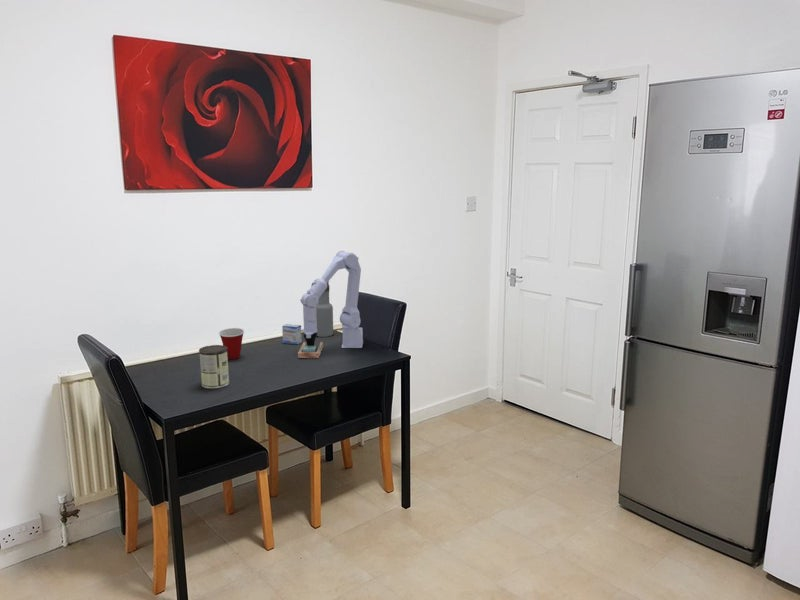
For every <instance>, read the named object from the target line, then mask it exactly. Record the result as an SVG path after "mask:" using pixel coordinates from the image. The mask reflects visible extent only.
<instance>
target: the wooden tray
mask: <svg viewBox="0 0 800 600" xmlns="http://www.w3.org/2000/svg"><path fill="white" fill-rule="evenodd" d="M304 346H307V342H306V341H302V344H301V346H300V348H299V350H298V352H297V359H298V358H308V360H309V358H311V359H312V358H313V359H314V358H320V357H321V354H322V352H321V351H323V348H324V341H320V343H319V344H318V347H317V348H316V352H303V348H304ZM319 356H320V357H319ZM313 359H312V360H313ZM314 360H315V359H314Z"/></svg>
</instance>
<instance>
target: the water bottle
mask: <svg viewBox="0 0 800 600" xmlns="http://www.w3.org/2000/svg"><path fill="white" fill-rule="evenodd" d="M317 279H318V278H316V279H315V280H313V282H314V281H316V280H317ZM313 282H312V283H311V286H312V285H313V284H314V283H313ZM329 283H330V280H329V281H328V282H327V288H326V289H325V291H324V292H323V293H322V295H321V296H320V297H319V302H318V304H317V305H316V318H317V332H316V333H317V336H318V337H319V338H327V337H331V336H333V334H334V307H333V304H332V303H330V285H329ZM311 286H310V287H311ZM317 336H316V337H317Z"/></svg>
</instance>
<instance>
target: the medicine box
mask: <svg viewBox="0 0 800 600" xmlns="http://www.w3.org/2000/svg"><path fill="white" fill-rule="evenodd" d="M281 327H282V330H281V331H282V344H283V343H288V344H287V345H296V344H298V345H299V343H300V344H301V343H303V341H302V332H301V330H302V325H300V324H291V323H290V324H289V323H286V324H283V325H282V326H281Z"/></svg>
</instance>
